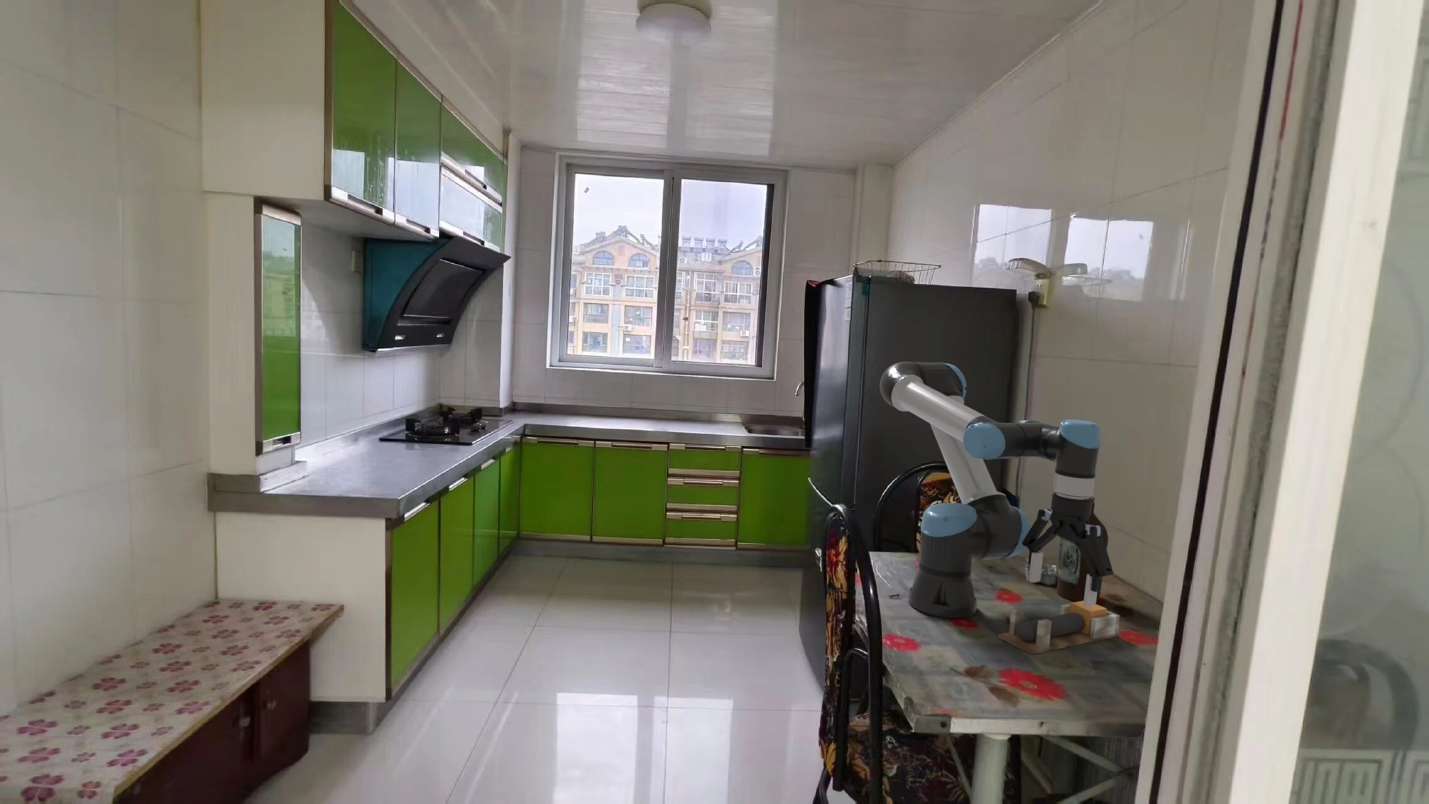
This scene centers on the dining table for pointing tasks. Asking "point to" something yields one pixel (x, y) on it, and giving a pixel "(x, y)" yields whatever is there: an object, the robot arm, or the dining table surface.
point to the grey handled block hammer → (1064, 622)
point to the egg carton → (1044, 573)
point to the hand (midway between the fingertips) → (1060, 592)
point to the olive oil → (1075, 565)
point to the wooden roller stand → (1099, 631)
